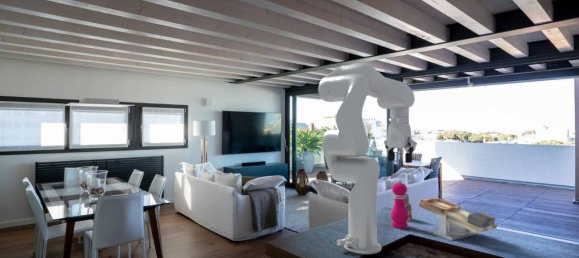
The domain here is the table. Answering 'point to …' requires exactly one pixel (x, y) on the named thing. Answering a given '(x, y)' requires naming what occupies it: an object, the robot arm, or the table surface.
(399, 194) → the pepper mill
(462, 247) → the table surface
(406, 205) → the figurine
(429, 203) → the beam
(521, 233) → the table surface
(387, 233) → the table surface
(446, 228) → the fulcrum
